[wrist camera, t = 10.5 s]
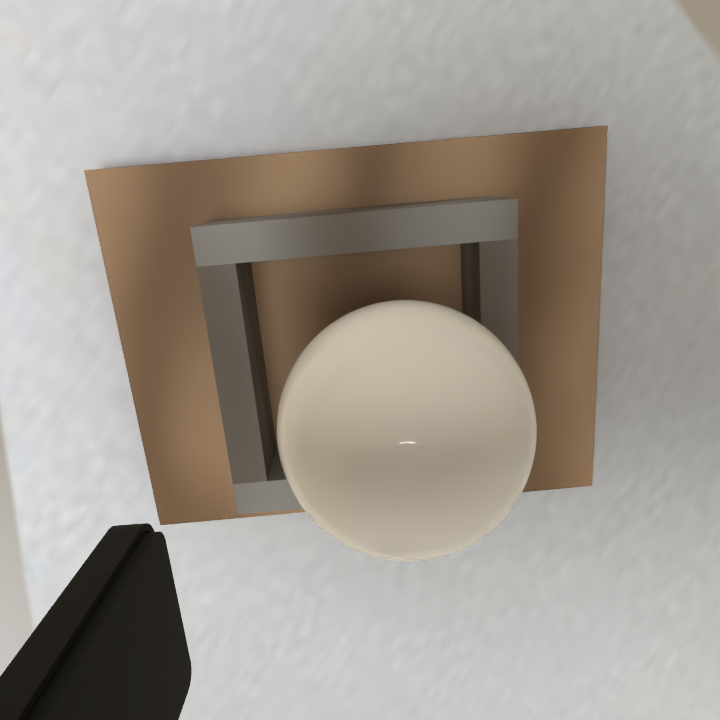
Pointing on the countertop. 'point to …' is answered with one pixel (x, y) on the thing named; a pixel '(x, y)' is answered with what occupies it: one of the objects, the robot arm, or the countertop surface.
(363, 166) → the lamp socket
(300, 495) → the lightbulb
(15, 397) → the countertop surface
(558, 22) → the countertop surface
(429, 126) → the countertop surface
